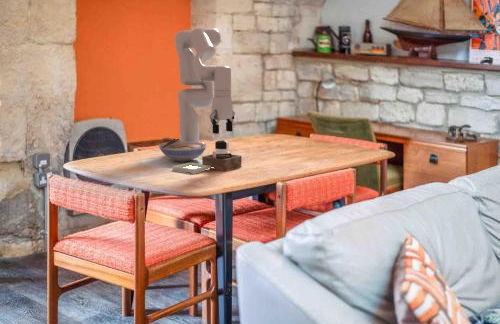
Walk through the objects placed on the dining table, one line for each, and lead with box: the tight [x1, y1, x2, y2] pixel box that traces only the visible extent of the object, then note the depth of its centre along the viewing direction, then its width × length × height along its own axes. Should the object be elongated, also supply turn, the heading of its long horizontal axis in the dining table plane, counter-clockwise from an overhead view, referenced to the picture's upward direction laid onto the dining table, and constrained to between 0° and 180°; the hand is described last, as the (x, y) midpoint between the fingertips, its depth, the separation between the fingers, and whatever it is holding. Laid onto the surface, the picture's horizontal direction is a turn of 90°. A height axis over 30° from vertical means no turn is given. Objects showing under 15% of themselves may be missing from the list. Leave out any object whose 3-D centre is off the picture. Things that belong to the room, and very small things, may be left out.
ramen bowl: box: [158, 138, 208, 162], centre depth 358 cm, size 25×23×8 cm
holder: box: [201, 153, 243, 172], centre depth 343 cm, size 13×13×5 cm
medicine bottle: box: [212, 139, 232, 159], centre depth 343 cm, size 7×7×12 cm
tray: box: [171, 162, 211, 175], centre depth 336 cm, size 12×12×2 cm
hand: (222, 132), depth 340 cm, fingers open, 9 cm apart
